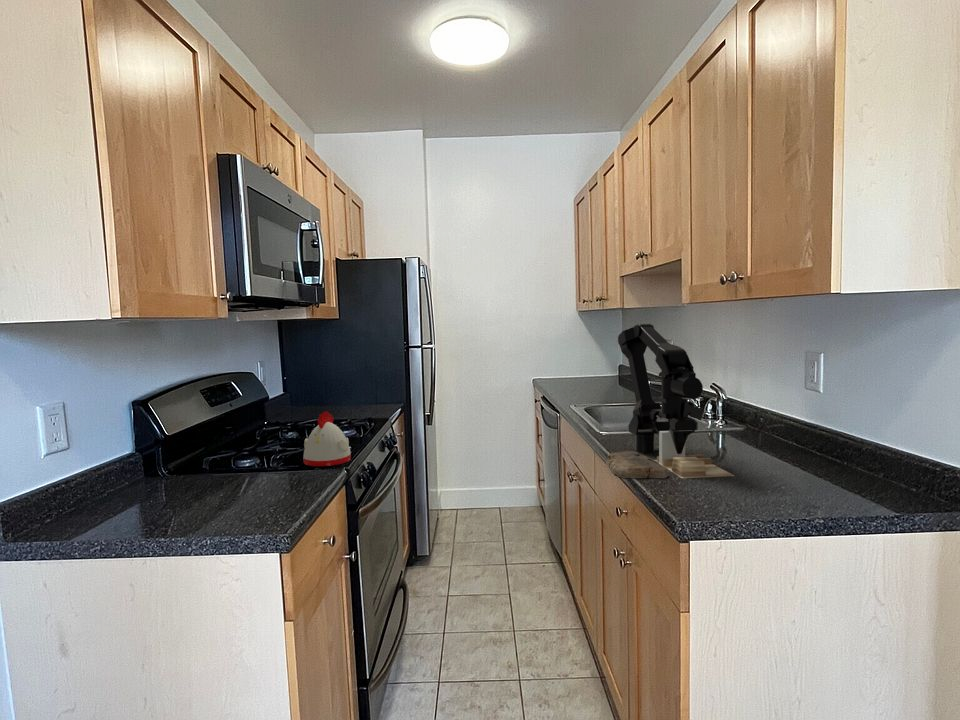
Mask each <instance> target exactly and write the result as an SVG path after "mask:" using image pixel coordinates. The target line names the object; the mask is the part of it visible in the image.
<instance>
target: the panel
mask: <svg viewBox="0 0 960 720" xmlns="http://www.w3.org/2000/svg"><path fill="white" fill-rule="evenodd" d="M658 441H659V443H658V449H659V451H658V456H659V463H660V464H662V465H663V460H673V458H675V457H685V455H686V444H685V445H684V448H683V451H682V453H681V454H677V452H676V449H675V446H674V443H673V440H672V436H671V433H670V431H659V435H658ZM659 463H658V464H659ZM660 464H659V465H660ZM662 465H661V466H662Z"/></svg>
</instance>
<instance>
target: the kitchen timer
mask: <svg viewBox="0 0 960 720" xmlns="http://www.w3.org/2000/svg"><path fill="white" fill-rule="evenodd" d="M316 420H317V426H316V427H314V429H313V430H312V431H311V433H310V434H309V436H308V438H305V439H304V443H303V446H304V450H303V464H304V465H307V466H310V467H330V466H337V465H342V464H345V463H348V462H349V461H351V458H352V457H351V456H352V455H351V449H350V445H349V444H350V441H349V438H348V437H346V435H345V434H344V432H343V431H342V429H340V427H339V426H338V425H336V424H334V423H333V422H334V416H332V413H329V411H324V412H322V413H319V418H317V419H316Z"/></svg>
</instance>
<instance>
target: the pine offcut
mask: <svg viewBox="0 0 960 720" xmlns="http://www.w3.org/2000/svg"><path fill="white" fill-rule="evenodd" d="M673 462H674V463H675V464H677V465H679V466H680V467H699V466H704V461H702V460H700V459H698V458H697V457H675V458H673Z"/></svg>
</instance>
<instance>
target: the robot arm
mask: <svg viewBox="0 0 960 720" xmlns="http://www.w3.org/2000/svg"><path fill="white" fill-rule="evenodd" d="M617 343H618V345H619V349H620V351H621V353H622V354H623V356H624V357H626V358H627V361H628V365H629V370H630V375H631V380H632V381H631V382H632V386H633V393H634V397H635V402H636V403H635V405H634V408H633V411H632V418H631V420H630V422H629V424H628V425H627V426H628V427H627V428H628V432H629V433H630V434H632V435H635V445H634V446H635V450H634V451H636V452H637V453H643V454H654V453H655V451H656V449H655V448H656V447H655V446H656V444H655V443H656V442H655V441H656V438H655V437H656V434H657V435H658V436H659V431H670V433H671V436H672V440H673V443H674V446H675V449H676V452H677V454H681V453H682V451H683V448H684V445H685V446H686V441H687V439H688V437H689V436H690V435H691V434H692V433H695V432H696V431H698V429H699V423H698V421H699V422H700V421H702V419H703V417H704V413H705V411H706V409H703V408H700V407H697V406H695V404H694V402H693V401H689V400H695V399H697V398H699V397H700V396H701V395H702V394H703V389H704V386H703V384H702V381H701V380H700V379H699V378H697V377H696V376H697V375H696V372H695V369H694V368H695V367H694V365H693V364H692V361H691V360H690V357H689V355H688V353H687V351H686V350H685V349H684V348H683V347H681V346H678V345H675V344H671V343H670V342H668V341H667V340H666V339H665V338H664V337H663V336H662V335H661V334H660V333H659V331H657V330H656V329H655V327H654V325H653V324H651V323H638V324H636V325H634V326H633V327H630V328H628V329H627V328H626V329H625V330H622V331H621V333H619V335H618V336H617ZM647 348H648V349H649V350H650V351H651V352H652V353H653V354H654V355H655V360H654V361H655V363H656V365H657V366H658V368H659V369H660V370H661V371H660V372H658V374H657V375H658V377H660V378H661V396H658V401H659V402H656V401H655V400H654V399H653V395H652V390H651V386H650V381H649V380H650V379H649V376H648V370H647V365H646V359H645V356H644V355H645V353H646V350H647ZM688 399H689V400H688ZM660 402H661V403H660ZM697 420H698V421H697Z"/></svg>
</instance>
